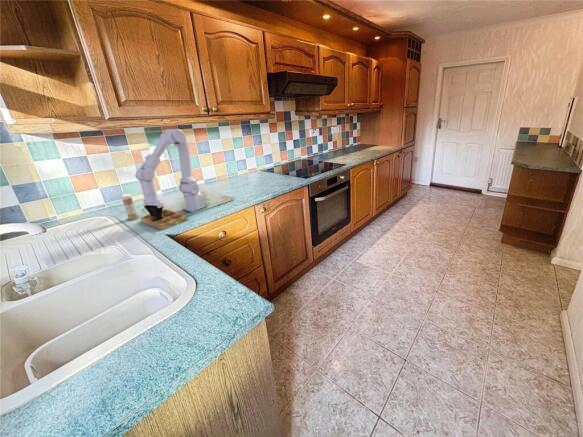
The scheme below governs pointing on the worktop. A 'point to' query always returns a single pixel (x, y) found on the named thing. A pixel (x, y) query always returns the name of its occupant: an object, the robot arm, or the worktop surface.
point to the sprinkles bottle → (129, 206)
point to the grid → (165, 219)
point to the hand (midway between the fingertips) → (156, 218)
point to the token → (153, 218)
